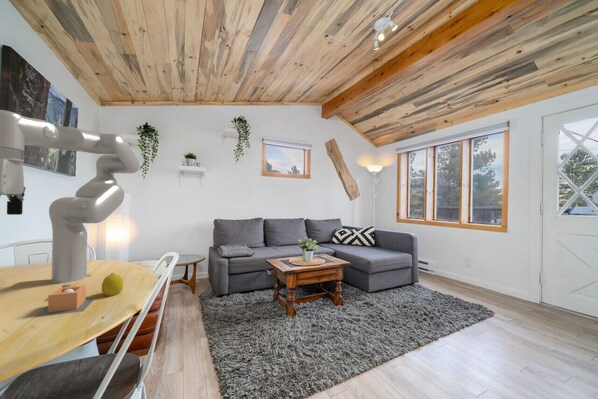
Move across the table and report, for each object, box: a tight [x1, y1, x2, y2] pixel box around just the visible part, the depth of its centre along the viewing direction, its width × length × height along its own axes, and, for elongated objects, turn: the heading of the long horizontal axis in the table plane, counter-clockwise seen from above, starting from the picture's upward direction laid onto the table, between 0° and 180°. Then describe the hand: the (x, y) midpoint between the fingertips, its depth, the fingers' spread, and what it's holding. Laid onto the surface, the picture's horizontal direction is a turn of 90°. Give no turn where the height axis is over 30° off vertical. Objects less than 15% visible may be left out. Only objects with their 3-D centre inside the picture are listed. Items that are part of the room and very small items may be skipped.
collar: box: [47, 285, 87, 312], centre depth 70 cm, size 6×6×4 cm
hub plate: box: [33, 289, 97, 318], centre depth 70 cm, size 10×10×6 cm
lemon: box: [101, 272, 124, 297], centre depth 79 cm, size 6×6×8 cm
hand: (3, 215), depth 71 cm, fingers open, 9 cm apart
